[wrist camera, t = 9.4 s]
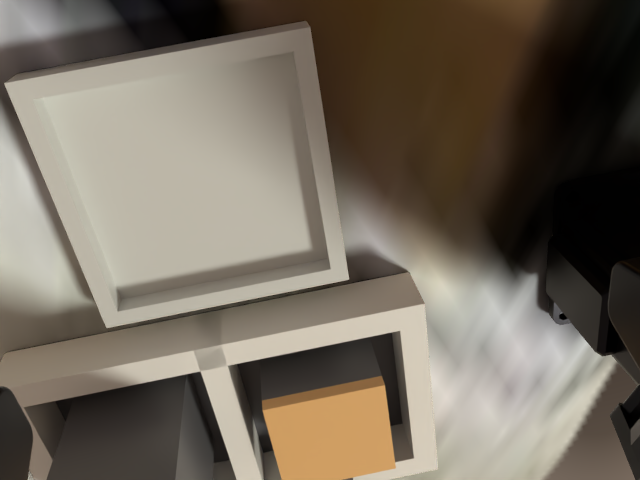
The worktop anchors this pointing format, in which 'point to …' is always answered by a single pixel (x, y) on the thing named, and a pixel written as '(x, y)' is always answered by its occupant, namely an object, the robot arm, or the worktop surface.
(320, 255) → the tray
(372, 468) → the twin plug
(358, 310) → the two-cubby shelf
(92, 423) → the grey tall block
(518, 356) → the worktop surface
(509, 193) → the worktop surface
